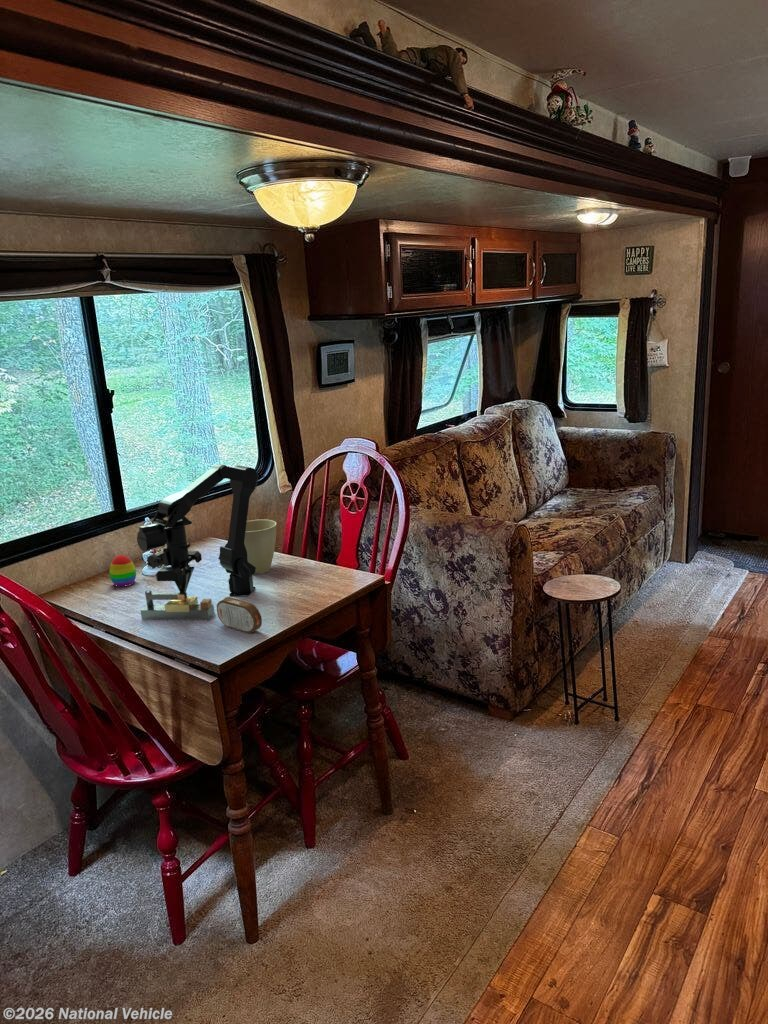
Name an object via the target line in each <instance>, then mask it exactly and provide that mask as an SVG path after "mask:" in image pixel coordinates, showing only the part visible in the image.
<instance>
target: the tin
mask: <svg viewBox="0 0 768 1024" xmlns="http://www.w3.org/2000/svg"><path fill="white" fill-rule="evenodd" d="M216 611H217V616H218V619H219V620H220V622H221V623H222V625H224V626H225V627H226V628H230V629H233V630H236V631H240V632H243V633H246V634H252V633H254V632H255V631H257V630H259V629H260V628H261V626H262V624H263V618H262V615H261V612H260V611H259V609H258V607H256V605H255V604H254V603H252V602H250V601H248V600H247V601H246V600H243V599H240V598H235V597H233V596H226V597H225V598H223V599H222V600H219V602H218V603H217V604H216Z"/></svg>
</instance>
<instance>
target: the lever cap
mask: <svg viewBox="0 0 768 1024" xmlns="http://www.w3.org/2000/svg"><path fill="white" fill-rule="evenodd" d="M164 604H165V611H166V612H190V611H191V610H192V609H193V607H194V606H195V605H196V604H199V600H198V596H194V595H193V596H192V595H191V596H188V595H187V598H186V599H185V600H168V601H167V602H166V603H164Z"/></svg>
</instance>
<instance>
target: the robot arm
mask: <svg viewBox="0 0 768 1024" xmlns="http://www.w3.org/2000/svg"><path fill="white" fill-rule="evenodd" d="M225 479H228V480H229V484H230V485H229V486H230V488H231V489H230V490H231V491H232V494H233V497H232V504H231V511H230V512H231V513H230V521H229V522H230V523H229V530H228V531H229V532H228V538H227V541H226V543H225V545H224V546H222V545H221V546H220V547H219V556H218V558H217V559H218V560H219V565H220V566H221V567H222V568H223V569H224V570H225V572H226V573H228V574H229V579H227V580H228V589H229V592H230V593H229V597H233V596H234V597H235V596H238V597H239V596H241V597H242V596H243V597H244V596H245V597H247V596H251V595H252V593H253V592H254V591H255V590H256V586H254V579H253V577H254V576H253V575H256V574H255V570H256V567H254V566H253V565H252V564H250V563H249V562H248V554H247V550H246V547H245V544H244V541H245V532H246V524H247V521H248V516H249V515H248V514H249V506H250V500H251V496H252V494H253V493H254V491H255V490H256V487H257V485H258V480H259V474H258V471H256V469H254V468H253V467H249V466H243V465H236V466H234V467H232V466H227V465H226V464H221V463H215V464H213V465H212V466H211V468H210V469H208V470H207V471H206V472H204V473H203V474H201V476H199V477H198V478H197V479H196V480H194V481H193V482H191V483H190V484H189V485H188V486H187V487H185V488H184V489H182V490H180V491H178V492H175V493H173V494H170V495H169V496H167V497H164V498H163V499H161V500H160V501H159V502H158V506H157V507H158V508H157V511H156V513H155V515H154V518H153V519H152V521H151V524H148V525H147V524H146V525H140V526H139V527H138V530H139V531H138V532H137V535H136V542H137V545H138V548H139V549H140V550H141V551H142V552H147V551H150V550H154V549H158V548H162V547H164V546H165V545H166V546H165V547H164V548H163V550H162V551H159V552H156V553H152V554H149V555H148V556H147V557H146V562H147V563H146V565H147V566H149V567H150V568H151V569H156V568H157V567H159V566H162V565H164V567H162V568H161V569H159V570H158V571H157V572H156V573H155V578H156V581H157V582H174V583H175V585H176V587H177V589H178V591H179V593H180V592H186V593H187V589H188V587H189V583H190V581H191V578H192V575H193V572H194V570H195V566H190V565H191V564H190V563H191V562H193V561H195V562H196V564H197V563H198V564H199V563H200V562H201V561H203V559H202V553H201V552H200V551H198V550H189V548H190V547H191V543H190V542H188V540H187V533H186V531H187V530H186V526H189V525H192V524H193V521H191V520H190V519H188V518H187V517H186V516H187V515H188V513H190V511H191V510H192V507H193V505H195V502H197V501H198V500H199V499H201V498H202V497H203V496H204V495H206V494H207V493H208V492H209V491H211V490H212V489H213V488H214V487H215V486H217V485H218V484H219V483H221V482H222V481H223V480H225ZM166 519H167V520H166Z"/></svg>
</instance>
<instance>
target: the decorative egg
mask: <svg viewBox="0 0 768 1024" xmlns="http://www.w3.org/2000/svg"><path fill="white" fill-rule="evenodd" d="M136 569H137V568H136V566H135V564H134V562H133V560H132V559H130V557H128V556H126V555H124V554H119V555H116V556H115V557H114V558H113V560H111V563H110V566H109V573H108V574H109V578H110V580H111V582H112V584H114V585H115V586H116V585H117V586H116V587H118V586H124V587H126V586H125V585H129V584H131V585H133V584H134V583H135V581H136V578H137V570H136ZM132 583H133V584H132ZM129 586H130V585H129Z"/></svg>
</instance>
